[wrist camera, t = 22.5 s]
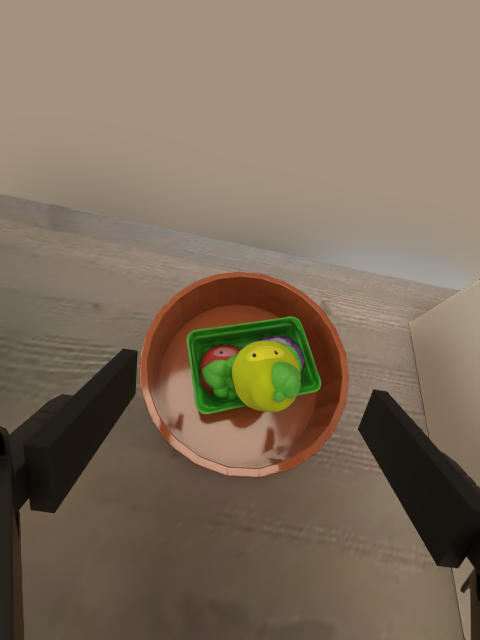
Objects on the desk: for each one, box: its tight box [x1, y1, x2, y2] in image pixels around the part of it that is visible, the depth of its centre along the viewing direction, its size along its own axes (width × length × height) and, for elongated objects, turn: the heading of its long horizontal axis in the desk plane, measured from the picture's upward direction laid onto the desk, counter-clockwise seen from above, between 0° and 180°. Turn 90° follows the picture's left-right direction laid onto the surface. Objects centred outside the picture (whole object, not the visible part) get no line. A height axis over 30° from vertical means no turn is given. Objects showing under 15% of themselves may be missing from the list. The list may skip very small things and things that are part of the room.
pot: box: [140, 272, 349, 478], centre depth 26 cm, size 18×18×6 cm
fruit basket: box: [186, 317, 321, 414], centre depth 23 cm, size 11×9×11 cm
